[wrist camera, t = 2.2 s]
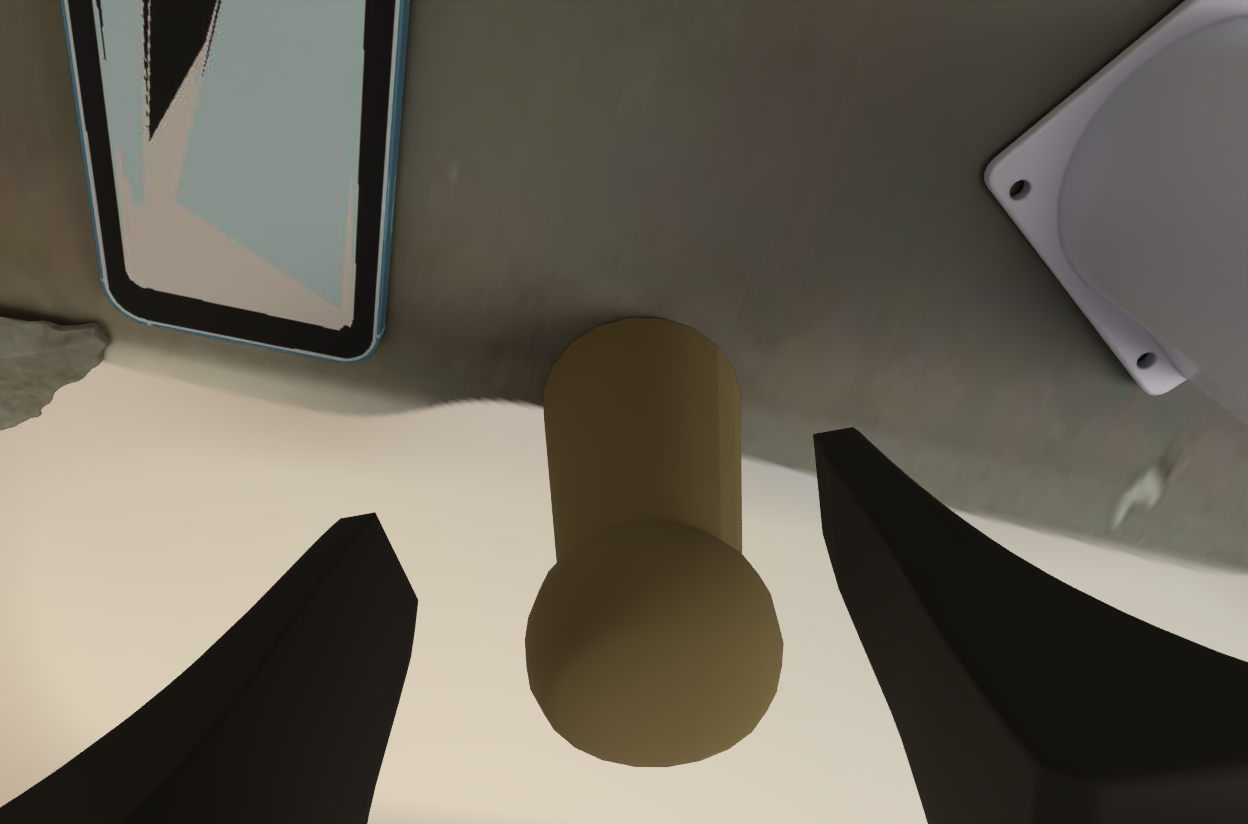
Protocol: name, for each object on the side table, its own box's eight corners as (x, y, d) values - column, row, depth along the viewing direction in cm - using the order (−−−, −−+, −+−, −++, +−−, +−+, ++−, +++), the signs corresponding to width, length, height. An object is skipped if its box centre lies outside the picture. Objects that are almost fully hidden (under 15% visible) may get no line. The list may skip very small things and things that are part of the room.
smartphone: (103, 316, 21) (-11, -468, 13) (122, 301, 22) (26, -447, 14) (379, 371, 22) (431, -329, 14) (387, 354, 23) (441, -318, 15)
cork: (597, 510, 26) (585, 839, 16) (505, 366, 23) (428, 669, 14) (768, 445, 24) (861, 764, 15) (694, 283, 22) (752, 556, 12)
